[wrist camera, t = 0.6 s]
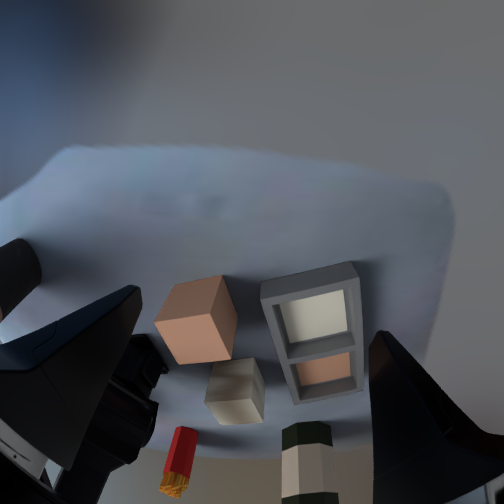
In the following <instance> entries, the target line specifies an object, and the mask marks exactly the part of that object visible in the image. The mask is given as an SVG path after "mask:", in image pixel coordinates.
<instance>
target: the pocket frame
mask: <svg viewBox="0 0 504 504" xmlns="http://www.w3.org/2000/svg"><path fill="white" fill-rule="evenodd" d="M260 301H261V305H262V308H263V311H264V314H265V317H266V320H267V323H268V326H269V329H270V332H271V336H272V339H273V342H274V345H275V348H276V351H277V354H278V357H279V360H280V363H281V366H282V369H283V372H284V375H285V379H286V382H287V385H288V388H289V391H290V394H291V397H292V400H293V403H294V405H297V404H303V403H309V402H314V401H320V400H325V399H329V398H334V397H338V396H343V395H347V394H351V393H355V392H359V391H363V386H364V348H363V320H362V304H361V290H360V279H359V276H358V274H357V272H356V270H355V269H354V267H353V265H352V263H351V262H350V261H348V262H344V263H340V264H336V265H332V266H328V267H323V268H319V269H315V270H311V271H306V272H302V273H297V274H293V275H289V276H284V277H280V278H275V279H271V280H266V281H262V282H261V291H260Z"/></svg>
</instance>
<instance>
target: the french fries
mask: <svg viewBox="0 0 504 504" xmlns="http://www.w3.org/2000/svg"><path fill="white" fill-rule="evenodd" d="M197 440H198V433H197V432H196V431H195V430H194V429H190V428H186V427H182V426H181V427H177V428H176V429H175V433H174V436H173V440H172V443H171V446H170V450H169V453H168V457H167V461H166V464H165V467H164V471H163V476H164V477H163V479H162V482H161V485H160V488H159V491H161V492H163V494H166V493H168V496H170V495H171V497H172V496H174V498H180V496H181V492H184V491H185V489H187V486H188V482H189V478H190V473H191V469H192V464H193V459H194V454H195V449H196V444H197Z"/></svg>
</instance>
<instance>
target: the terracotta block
mask: <svg viewBox="0 0 504 504" xmlns="http://www.w3.org/2000/svg"><path fill="white" fill-rule="evenodd" d="M237 321H238V315H237V313H236V310H235V308H234V305H233V302H232V300H231V297H230V295H229V292H228V289H227V287H226V284H225V281H224V279H223V276H222V275H219V276H215V277H210V278H206V279H201V280H196V281H192V282H187V283H182V284H178V285H175V286H174V287H173V289H172V291H171V292H170V294H169V296H168V298H167V299H166V301H165V303H164V305H163V306H162V308H161V310H160V312H159V314H158V315H157V317H156V319H155V321H154V324H155V325H156V327H157V329H158V331H159V332H160V334H161V336H162V338H163V339H164V341H165V343H166V344H167V346H168V348H169V349H170V351H171V353H172V354H173V356H174V358H175V359H176V361H177V362H178V364H179V365H180V364H192V363H203V362H213V361H222V360H230V359H231V357H232V351H233V345H234V339H235V333H236V327H237Z"/></svg>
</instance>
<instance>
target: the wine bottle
mask: <svg viewBox="0 0 504 504" xmlns="http://www.w3.org/2000/svg"><path fill="white" fill-rule="evenodd" d="M337 489H338V488H337V478H336V469H335V461H334V452H333V444H332V436H331V428H330V426H329V425H326V424H324V423H321V422H319V421H313V422H301V423H295V424H293V425H291V426H289V427H287V428H285V429H283V430H282V504H339V499H338V490H337Z"/></svg>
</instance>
